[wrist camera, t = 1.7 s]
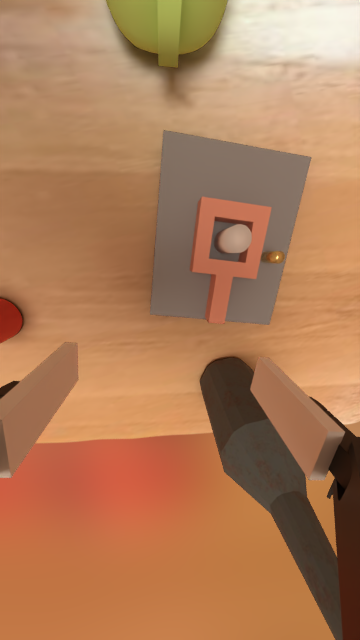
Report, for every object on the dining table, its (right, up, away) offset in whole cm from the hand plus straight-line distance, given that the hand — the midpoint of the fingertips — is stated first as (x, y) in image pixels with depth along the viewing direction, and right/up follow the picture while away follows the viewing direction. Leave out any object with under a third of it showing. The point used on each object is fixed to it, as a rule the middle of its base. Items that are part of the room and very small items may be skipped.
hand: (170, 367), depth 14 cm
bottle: (+9, -8, +25) cm, 28 cm away
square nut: (+7, +11, +17) cm, 22 cm away
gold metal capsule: (+14, +13, +17) cm, 25 cm away
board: (+7, +15, +17) cm, 24 cm away
